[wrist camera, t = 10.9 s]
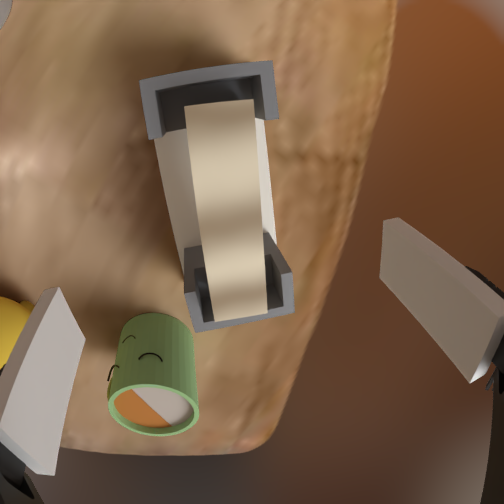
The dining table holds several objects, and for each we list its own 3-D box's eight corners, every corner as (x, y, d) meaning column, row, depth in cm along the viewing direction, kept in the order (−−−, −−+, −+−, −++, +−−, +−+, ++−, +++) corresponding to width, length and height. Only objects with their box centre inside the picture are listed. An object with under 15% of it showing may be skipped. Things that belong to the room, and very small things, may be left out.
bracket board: (146, 84, 28) (127, 76, 19) (254, 67, 29) (281, 53, 20) (186, 283, 38) (188, 338, 29) (276, 265, 39) (302, 314, 31)
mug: (167, 299, 39) (165, 370, 28) (206, 353, 44) (214, 422, 33) (90, 333, 39) (72, 401, 28) (133, 380, 44) (128, 446, 33)
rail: (185, 105, 24) (184, 106, 19) (240, 99, 25) (253, 99, 20) (209, 284, 32) (214, 322, 27) (254, 277, 33) (267, 313, 27)
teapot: (82, 387, 43) (68, 458, 31) (6, 378, 40) (-17, 439, 28) (46, 280, 35) (4, 354, 22) (-37, 279, 32) (-84, 338, 19)
